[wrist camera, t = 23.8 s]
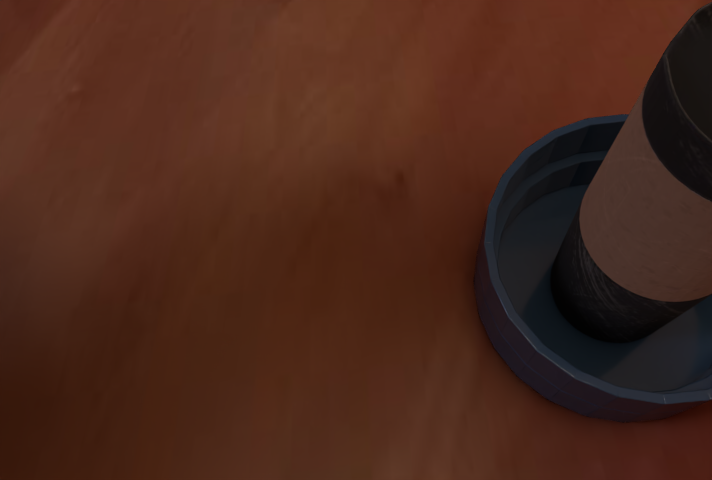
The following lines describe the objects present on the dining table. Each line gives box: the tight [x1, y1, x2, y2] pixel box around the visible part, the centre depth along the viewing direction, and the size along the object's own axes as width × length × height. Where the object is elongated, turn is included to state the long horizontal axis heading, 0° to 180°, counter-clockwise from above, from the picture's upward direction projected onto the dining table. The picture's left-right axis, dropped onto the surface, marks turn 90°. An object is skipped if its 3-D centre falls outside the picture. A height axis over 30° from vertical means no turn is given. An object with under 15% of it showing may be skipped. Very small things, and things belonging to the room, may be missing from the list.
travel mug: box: [550, 2, 712, 343], centre depth 30 cm, size 8×8×20 cm
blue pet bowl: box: [474, 114, 712, 423], centre depth 36 cm, size 16×16×7 cm
